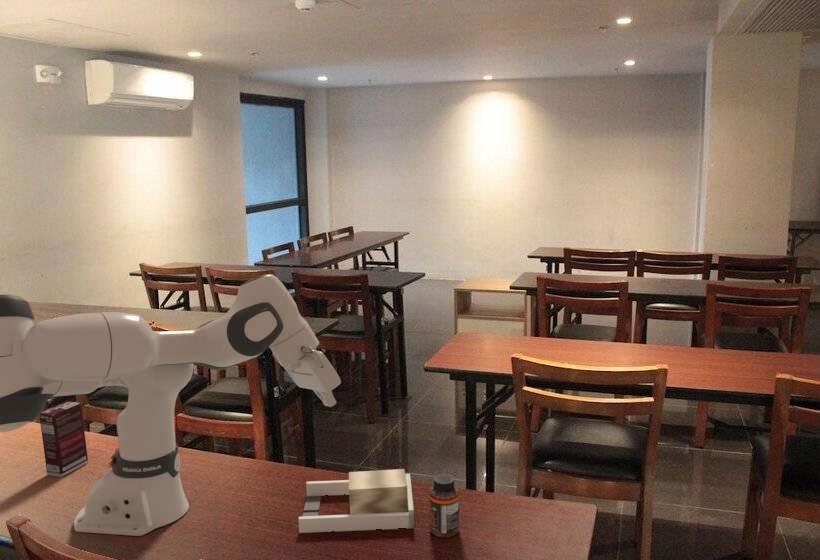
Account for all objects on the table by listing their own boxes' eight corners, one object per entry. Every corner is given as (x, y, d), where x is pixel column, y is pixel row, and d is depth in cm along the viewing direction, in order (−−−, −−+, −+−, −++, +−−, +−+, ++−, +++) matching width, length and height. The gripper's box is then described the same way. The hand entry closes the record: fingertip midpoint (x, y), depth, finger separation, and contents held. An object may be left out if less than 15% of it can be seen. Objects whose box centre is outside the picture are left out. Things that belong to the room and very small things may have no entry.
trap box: (299, 532, 138) (298, 514, 137) (307, 494, 153) (306, 477, 153) (413, 528, 139) (413, 509, 138) (410, 490, 154) (409, 473, 154)
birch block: (350, 521, 142) (349, 489, 141) (350, 502, 150) (348, 472, 149) (408, 517, 143) (407, 486, 142) (404, 498, 151) (404, 468, 150)
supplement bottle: (424, 527, 139) (423, 474, 137) (450, 520, 141) (450, 469, 139) (437, 542, 134) (436, 487, 131) (464, 535, 136) (464, 481, 134)
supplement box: (74, 460, 173) (67, 400, 170) (89, 463, 171) (82, 402, 168) (45, 475, 165) (37, 412, 162) (60, 478, 163) (53, 414, 160)
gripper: (325, 338, 129) (362, 399, 131) (295, 339, 148) (328, 392, 150) (297, 356, 127) (335, 418, 129) (270, 355, 145) (304, 409, 147)
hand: (331, 404), depth 139 cm, fingers closed
